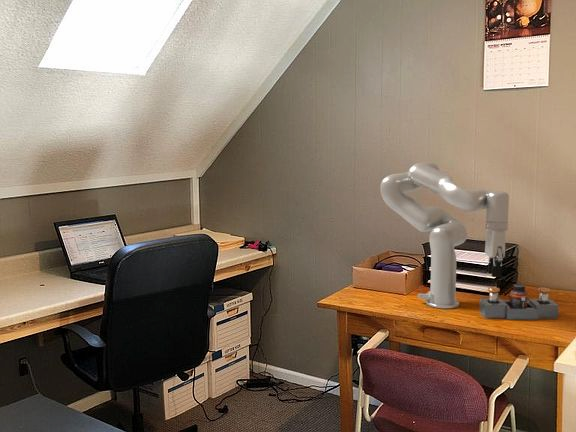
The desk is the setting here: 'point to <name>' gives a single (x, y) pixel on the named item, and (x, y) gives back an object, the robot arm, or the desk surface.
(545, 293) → the plunger right
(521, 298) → the supplement bottle
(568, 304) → the desk surface
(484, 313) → the housing
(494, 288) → the plunger left
